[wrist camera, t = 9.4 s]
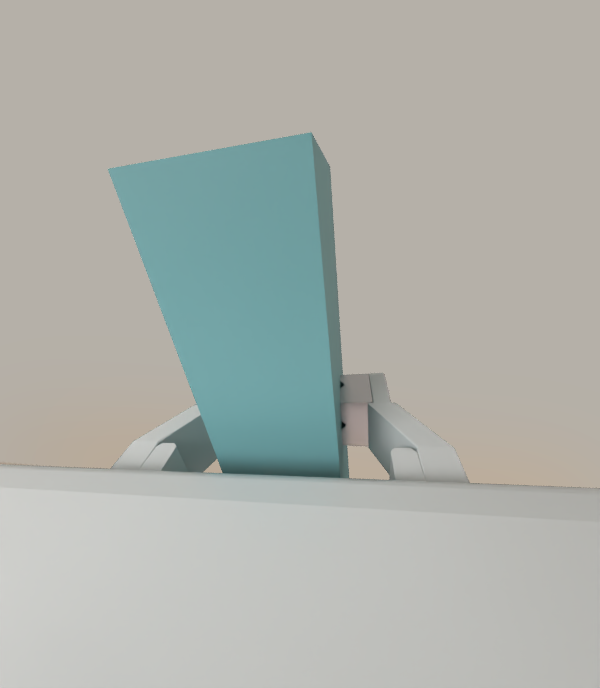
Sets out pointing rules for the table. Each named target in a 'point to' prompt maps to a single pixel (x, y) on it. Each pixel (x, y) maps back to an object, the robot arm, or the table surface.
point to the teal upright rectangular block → (249, 296)
